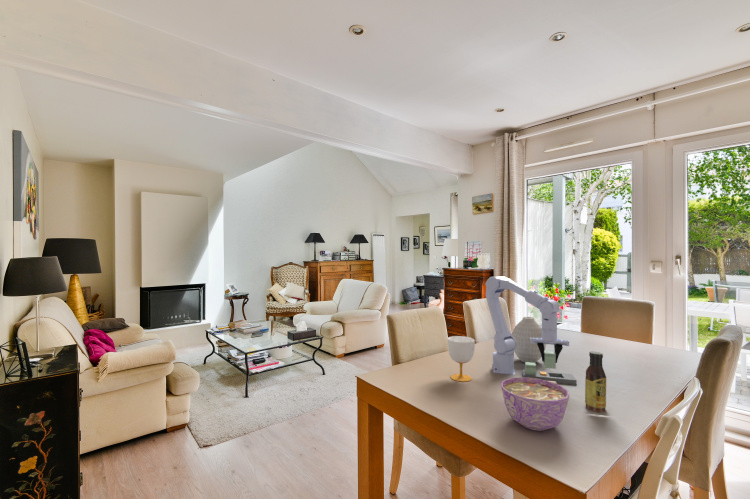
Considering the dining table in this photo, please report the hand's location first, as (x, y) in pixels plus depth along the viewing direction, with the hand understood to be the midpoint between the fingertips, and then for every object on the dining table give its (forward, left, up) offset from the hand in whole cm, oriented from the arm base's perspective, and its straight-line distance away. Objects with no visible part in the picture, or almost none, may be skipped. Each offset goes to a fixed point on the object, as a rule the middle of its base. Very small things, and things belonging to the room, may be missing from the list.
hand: (549, 361), depth 147 cm
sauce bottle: (+11, -21, -10) cm, 26 cm away
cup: (-36, -3, -10) cm, 37 cm away
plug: (0, 0, -2) cm, 2 cm away
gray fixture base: (0, +5, -10) cm, 11 cm away
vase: (-5, +32, -10) cm, 34 cm away
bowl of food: (-11, -39, -10) cm, 42 cm away
